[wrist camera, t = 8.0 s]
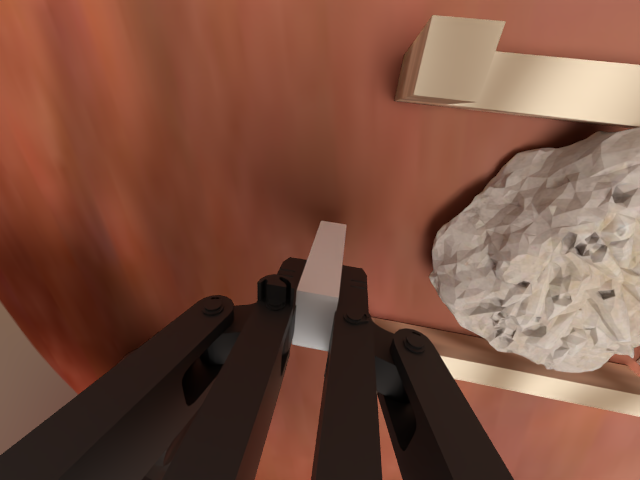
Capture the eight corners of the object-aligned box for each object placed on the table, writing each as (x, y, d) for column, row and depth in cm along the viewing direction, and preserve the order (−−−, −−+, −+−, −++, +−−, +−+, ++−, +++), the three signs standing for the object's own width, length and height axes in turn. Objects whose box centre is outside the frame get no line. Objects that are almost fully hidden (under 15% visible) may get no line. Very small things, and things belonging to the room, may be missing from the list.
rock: (505, 331, 19) (557, 412, 14) (403, 243, 17) (420, 301, 12) (689, 235, 14) (868, 305, 9) (577, 97, 12) (727, 90, 7)
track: (345, 330, 21) (339, 402, 16) (403, 55, 13) (432, 14, 7) (610, 382, 20) (701, 483, 14) (894, 103, 11) (1399, 97, 6)
